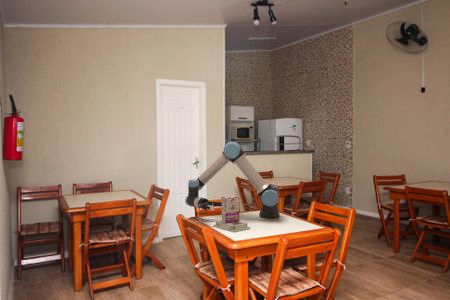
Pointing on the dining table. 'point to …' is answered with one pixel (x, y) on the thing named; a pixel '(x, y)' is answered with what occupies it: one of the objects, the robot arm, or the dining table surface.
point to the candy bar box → (230, 209)
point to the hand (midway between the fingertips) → (221, 207)
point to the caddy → (232, 226)
